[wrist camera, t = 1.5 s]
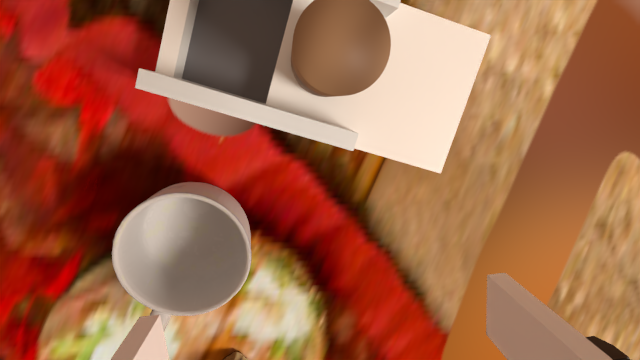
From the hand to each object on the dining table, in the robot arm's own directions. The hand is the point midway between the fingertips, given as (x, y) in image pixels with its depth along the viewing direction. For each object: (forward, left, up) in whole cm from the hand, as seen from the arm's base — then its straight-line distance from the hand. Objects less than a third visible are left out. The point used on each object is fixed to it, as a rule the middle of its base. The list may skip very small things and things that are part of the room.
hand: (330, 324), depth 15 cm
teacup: (-9, -8, -24) cm, 27 cm away
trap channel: (-2, +12, -23) cm, 26 cm away
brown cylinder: (-2, +12, -20) cm, 24 cm away
